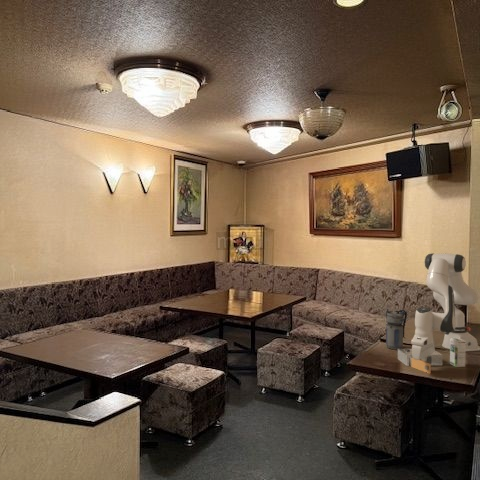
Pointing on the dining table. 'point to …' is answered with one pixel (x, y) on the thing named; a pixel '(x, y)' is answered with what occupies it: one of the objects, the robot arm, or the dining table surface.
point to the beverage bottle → (395, 329)
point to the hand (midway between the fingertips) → (423, 364)
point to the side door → (420, 365)
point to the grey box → (432, 359)
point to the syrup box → (457, 352)
